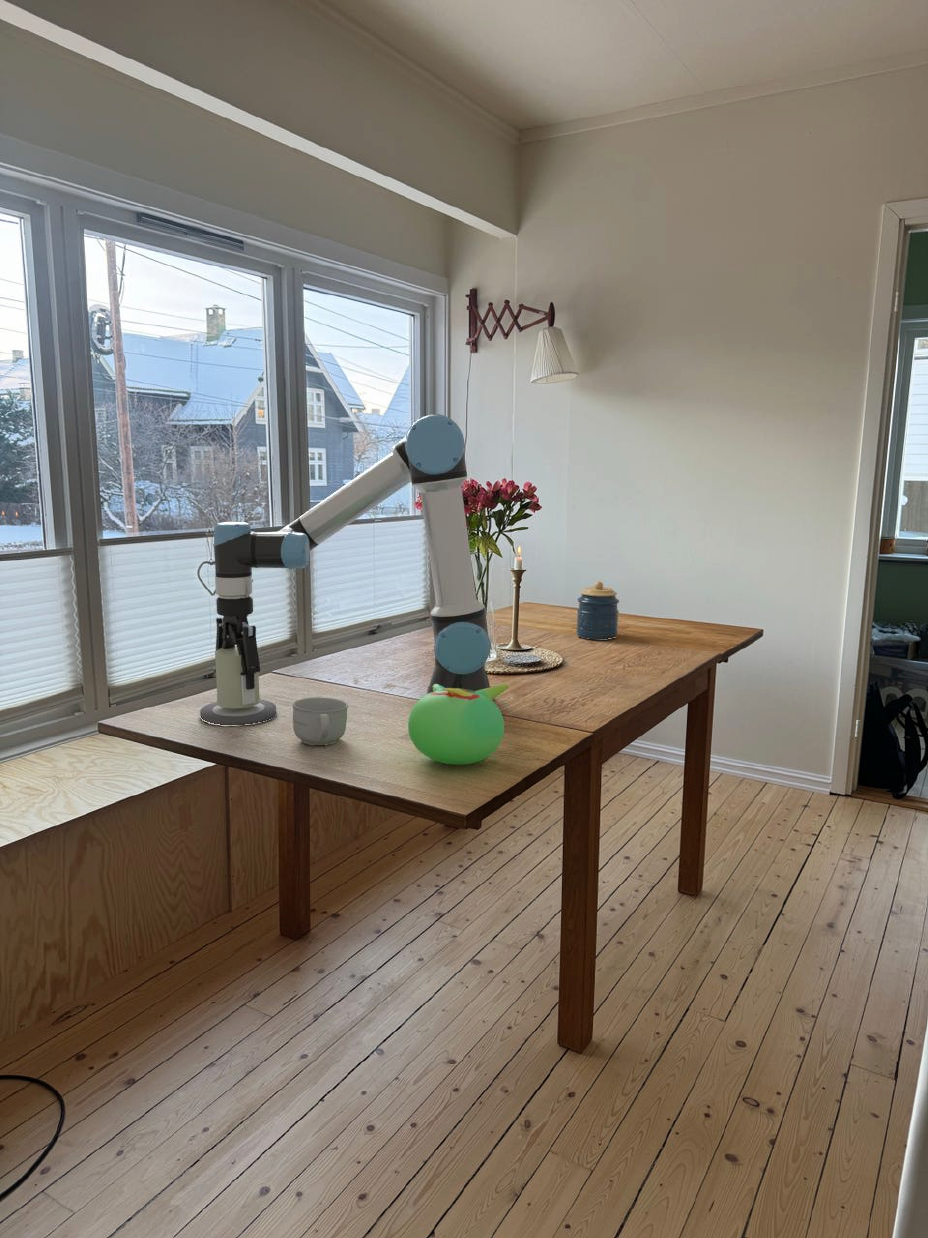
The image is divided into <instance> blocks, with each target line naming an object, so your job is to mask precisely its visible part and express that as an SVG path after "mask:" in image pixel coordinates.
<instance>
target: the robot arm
mask: <svg viewBox="0 0 928 1238" xmlns="http://www.w3.org/2000/svg"><path fill="white" fill-rule="evenodd" d="M467 479H468V472H467V464H466V456H465V438H464V435H463V432H462V429H461V428H460V427H459V425H458V424H457V423H456V422H455V421H454V420H453V419H452V418H450V417H447V416H446V415H444V414H443V415H442V414H439V413H438V414H437V413H435V414H432V413H430V414H428V415H423V416H421V417H419V418H418V419H416V420H415V421H414V422H413V423H412V424H411V425H410V427H409V429H408V430H407V432H406V435H405V437H404V438H402V439H401V440H400V441H399V442H397V443H395V444H394V445H393V446H392V449H391V453H389V454H388V455H386V456H385V457H383V459H381V460H379V461H377V462H376V463H375V464H373V465H372V466H371V467H370V468H368V469H367V470H365V471H364V472H362V473H361V474H359V475H358V476H356V477H355V478H353V479H352V480H351V481H349V482H348V483H346V484H345V485H344V486H341V488H339V489H338V490H337V491H335V492H334V493H332V494H331V495H329V496H328V497H326V498H325V499H324V500H322V501H321V502H319V503H318V504H316V505H315V506H313V507H312V508H310V509H308V510H307V511H305V513H303V514H302V515H301V516H299V517H298V518H296V519H295V520H293V521H292V522H290V523H289V524H287V525H286V526H284V527H283V528H281V529H280V530H278V531H276V532H256V531H252V529H251V525H250V524H249V523H248V522H244V521H241V522H240V521H225V522H219V523H217V524H215V526H214V528H213V545H212V547H213V553H214V567H215V568H214V569H215V573H214V574H215V576H214V579H215V580H214V581H215V583H214V584H215V594H216V595H217V597H216V599H215V601H216V603H215V604H216V614H218V615H219V616H221V617H216V619H215V621H216V635H215V636H216V638H215V651H216V650H218V649H221V648H223V649H229V648H235V646H237V649H238V653H239V655H241V665H242V669H243V672H242V673H240V675H241V685H242V704H243V705H245V704H250V703H256V702H255V673H257V672H259V673H260V672H261V665H260V658H259V657H260V656H259V649H258V643H257V626H256V625H255V624H254V625H250V624H249V621H248V616H249V615H251V614H253V613H254V597H253V596H252V595H251V594H253V583H254V579H253V577H252V576H253V569H262V568H263V569H289V570H294V569H304V568H306V567H308V565H309V561H310V554H311V551H312V550H313V549H315V548H317V547H318V546H319V545H320V544H322V543H324V542H325V541H327V540H329V538H332V536H334V535H335V534H336V533H338V532H340V531H341V530H342V529H345V528H346V527H347V526H349V525H350V524H351V523H353V522H354V521H355V520H357V519H359V518H360V517H362V516H363V515H364V514H366V513H368V512H369V511H370V510H372V509H373V508H375V507H376V506H378V505H379V504H380V503H381V504H382V502H384V501H385V500H387V499H388V498H390V497H391V496H392V495H393V494H395V493H396V492H398V491H400V490H401V489H403V488H404V487H405V486H407V485H408V484H412V485H411V486H412V487H413V488H415V489H417V491H419V493H420V497H421V498H420V499H421V506H422V512H423V519H424V526H425V533H426V535H425V536H426V541H427V546H428V547H427V548H428V555H429V563H430V568H431V569H430V570H431V575H432V583H433V584H432V585H433V589H434V597H435V603H436V604H435V605H434V607H433V608H432V610H431V611H430V619H431V626H432V633H433V635H432V636H433V640H434V641H433V642H434V645H433V652H434V668H433V672H432V673H431V674H432V675H431V679H430V682H429V685H428V687H427V690H426V695H427V694H429V693H431V692H433V685H434V684H438V685H441V686H443V687H444V688H459V689H469V690H473V691H478V690H482V689H485V688H489V687H491V685H490V681H489V677H488V673H487V670H486V665H485V664H486V662H487V661H488V659H489V656H490V653H491V651H492V650H491V649H492V646H491V645H492V643H491V638H490V637H489V632H488V624H487V610H486V606H485V604H484V603H482V602H481V601H479V599H477V595H476V588H475V580H474V572H473V565H472V564H473V563H472V556H471V550H470V542H469V536H468V527H467V520H466V513H465V505H464V498H463V491H462V490H463V489H462V487H463V484H464V483H465V481H466V480H467Z"/></svg>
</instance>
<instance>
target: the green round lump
mask: <svg viewBox="0 0 928 1238" xmlns="http://www.w3.org/2000/svg"><path fill="white" fill-rule="evenodd" d="M508 689H509V685H508V684H498V685H494V686H490V687H489V688H485V689H482V690H478V691H473V690H469V689H459V688H444V687H443V686H441V685H438V684H434V685H433V692H431V693H429V694H427V693H426V694H425V695H424V696H422V697H421V698H420V699H419V700H418V701H416V703H415V704H414V706H413V707H412V709H411V711H410V714H409V716H408V717H409V718H408V722H407V723H408V725H407V726H408V727H407V728H408V730H407V731H408V734H409V738H410V741H411V742H412V744H413V745H414V747H415V748H416V749H417V750H418V752H420V753H421V754H423V755H424V756H425V757H427V758H428V759H431V760H433V761H435V762H439V763H442V764H446V765H454V766H455V765H457V766H462V765H471V764H475V763H479V762H481V761H484V760H486V759H488V758H489V757H491V756H492V755H493V754H494V753H495V752H496V751H497V750H498V748H499V747H500V745H501V743H502V742H503V741H502V740H503V737H504V736H505V735H504V734H505V721H504V717H503V715H502V714H503V713H502V712H501V710H500V708H499V706H498V705H497V704H496V703H495V702H494V701H493V700H494V699H495V698H497V697H499V696H500V695H501V694H503V693H504V692H506V691H507V690H508Z"/></svg>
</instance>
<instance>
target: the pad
mask: <svg viewBox="0 0 928 1238" xmlns="http://www.w3.org/2000/svg"><path fill="white" fill-rule="evenodd" d="M199 714H200V716H201V718H202V719H203V720H205V721H207V722H210V723H214V724H220V725H245V724H253V723H258V722H263V721H266V720H269V719H271V718H273V717H274V718H275V717H276V716H277V706H276V704H275V703H274V702H271V701H269V700H266V699H261V698H260V703H259V704H257V705H255V706H251V707H247V708H237V709H231V708H223V707H220V706H218V705H217V701H215V702H211V703H209V704H207V705H204V706H203V707H202V708H200V711H199ZM275 715H276V716H275ZM201 718H200V719H201ZM274 718H273V719H274ZM271 720H272V719H271ZM269 721H270V720H269ZM266 722H267V721H266ZM263 723H264V722H263Z"/></svg>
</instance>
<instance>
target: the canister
mask: <svg viewBox="0 0 928 1238" xmlns="http://www.w3.org/2000/svg"><path fill="white" fill-rule="evenodd" d="M580 594H581V596H579V597H578V598H577V602H578V608H577V610H576V611H577V619H576V621H577V623H576V629H575V630H576V636H577V635H578V636H579V637H578V636H577V637H578V638H580V637H583V638H589V639H608V638H613V637H616V636H617V637H618V634H619V632H618V631H619V629H618V623H619V622H618V621H619V612H620V610H619V609H618V604H619V602H620V599H618V598H617V596H616V595H617V594H618V593H617V591H615V590H613V588H611V587H605V586H604V584H603V582H602V581H598V580H597V581H596V582H595V584H594V586H589V587H584V589H583V590H580ZM617 637H616V638H617ZM583 638H582V639H583Z"/></svg>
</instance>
